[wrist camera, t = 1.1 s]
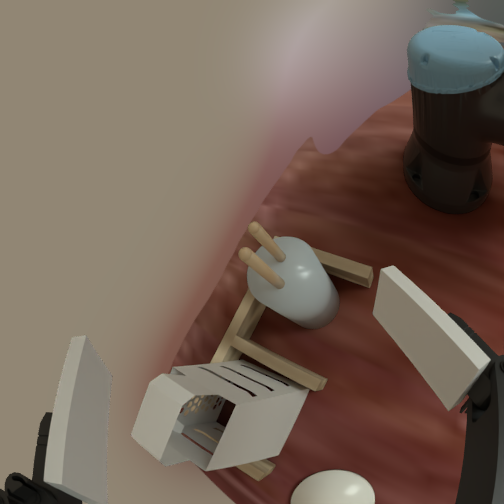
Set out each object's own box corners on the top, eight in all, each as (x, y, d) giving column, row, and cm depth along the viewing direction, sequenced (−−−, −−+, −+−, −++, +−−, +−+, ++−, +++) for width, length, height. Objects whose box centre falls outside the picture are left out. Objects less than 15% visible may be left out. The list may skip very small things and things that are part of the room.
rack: (284, 247, 43) (274, 235, 39) (373, 277, 35) (372, 267, 32) (195, 420, 37) (178, 422, 34) (270, 472, 29) (258, 481, 26)
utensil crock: (302, 271, 40) (231, 187, 23) (347, 288, 36) (307, 203, 19) (280, 317, 39) (188, 262, 22) (325, 337, 35) (262, 297, 18)
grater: (216, 421, 36) (102, 432, 20) (242, 359, 38) (135, 337, 22) (278, 455, 30) (182, 506, 14) (310, 387, 33) (233, 398, 16)
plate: (319, 456, 28) (318, 457, 28) (391, 487, 22) (391, 488, 22) (277, 511, 26) (276, 512, 26) (343, 541, 20) (342, 543, 20)
